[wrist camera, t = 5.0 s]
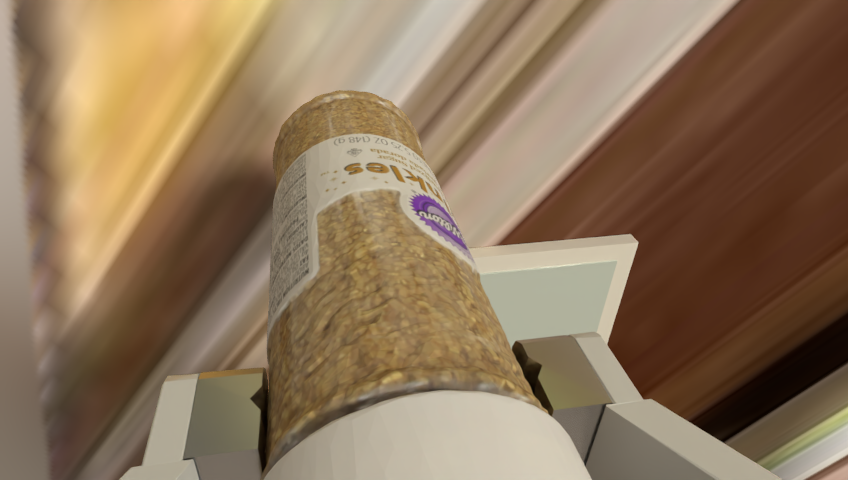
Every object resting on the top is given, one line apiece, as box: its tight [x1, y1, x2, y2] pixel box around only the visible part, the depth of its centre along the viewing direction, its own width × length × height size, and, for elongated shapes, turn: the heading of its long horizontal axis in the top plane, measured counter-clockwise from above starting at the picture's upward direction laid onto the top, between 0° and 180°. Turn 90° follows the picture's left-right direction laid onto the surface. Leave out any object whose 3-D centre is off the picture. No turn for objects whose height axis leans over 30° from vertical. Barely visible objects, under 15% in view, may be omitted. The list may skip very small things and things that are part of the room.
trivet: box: [469, 234, 639, 350], centre depth 31 cm, size 12×12×1 cm
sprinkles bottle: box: [260, 90, 592, 480], centre depth 12 cm, size 5×5×13 cm
